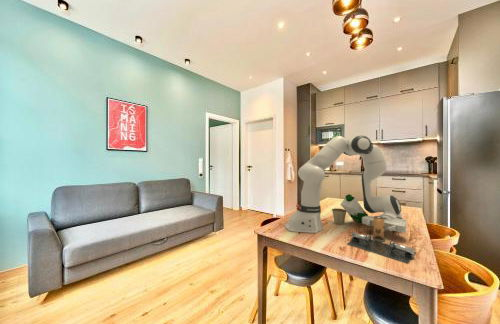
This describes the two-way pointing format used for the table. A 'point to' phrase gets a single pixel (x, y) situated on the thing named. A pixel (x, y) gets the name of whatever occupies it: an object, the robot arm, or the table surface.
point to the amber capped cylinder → (378, 229)
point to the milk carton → (353, 208)
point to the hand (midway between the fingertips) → (378, 226)
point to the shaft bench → (382, 248)
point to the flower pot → (339, 215)
